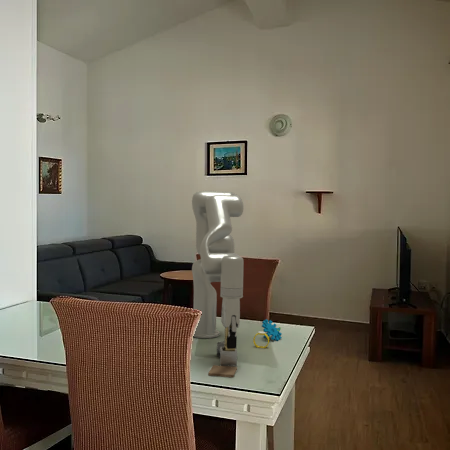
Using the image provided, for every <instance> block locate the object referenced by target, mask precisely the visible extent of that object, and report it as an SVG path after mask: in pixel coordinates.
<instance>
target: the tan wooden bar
mask: <svg viewBox="0 0 450 450" xmlns="http://www.w3.org/2000/svg"><path fill="white" fill-rule="evenodd" d="M230 327H232V326H230ZM230 330H231V329H230ZM227 336H228V327H227V328H225V327H224V340H223V341H224V351H235V349H227Z"/></svg>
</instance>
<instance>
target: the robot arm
mask: <svg viewBox="0 0 450 450" xmlns="http://www.w3.org/2000/svg"><path fill="white" fill-rule="evenodd" d="M191 198H192V199H191V208H192V210H193V215H194V217H195V223H196V227H195V228H196V229H195V249H196V253H197V254H198V255H199V257H200V259H197V260H195V261H194V262H193V263H192V266H191V273H192V280H193V283H192V284H193V310H194V309H198V310H201V311H202V316H201V318H200V321H199V323H198V326H197V328H196V331H195V334H194V337H193V338H196V339H197V338H198V339H212V338H217V337H219V336H221V334H220V331H219V330H217V303H218V302H217V301H218V300H217V297H218V296H217V295H218V293H217V290H216V289H215V287H214V286H213V285H212V284H211V283H216V282H217V283H220V295H219V297H220V298H222V302H221V317H220V322H221V324H222V326H223V328H224V329H225V328H227V327H228V336H227V349H237V345H238V344H237V343H238V342H237V341H238V340H237V338H238V337H237V329H238V328H239V327H240V322H241V321H240V319H241V318H240V317H241V311H240V310H241V301H240V300H241V299H242V298H243V297H244V295H243V294H244V262H245V261H244V258H243V257H242V256H240V255H239V254H238V253H235V241H234V237H233V235H232V234H231V233H232V231H233V226H232V221H231V218H239V217H241V216H242V215H243V214H244V203H243V199H242V198H241V196H240V195H238V194H237V193H235V192H232V191H216V190H215V191H214V190H213V191H212V190H201V191H196V192H195V193H194V194H192V197H191ZM230 326H232V327H230ZM230 329H231V330H230Z"/></svg>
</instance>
